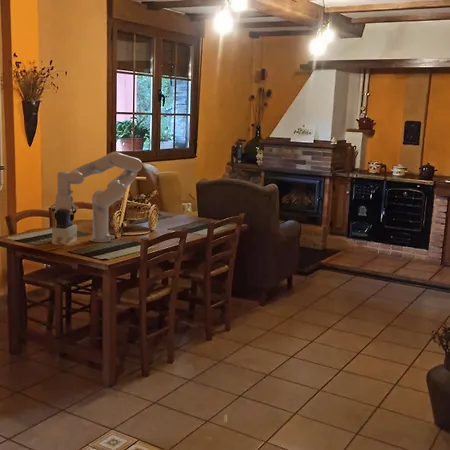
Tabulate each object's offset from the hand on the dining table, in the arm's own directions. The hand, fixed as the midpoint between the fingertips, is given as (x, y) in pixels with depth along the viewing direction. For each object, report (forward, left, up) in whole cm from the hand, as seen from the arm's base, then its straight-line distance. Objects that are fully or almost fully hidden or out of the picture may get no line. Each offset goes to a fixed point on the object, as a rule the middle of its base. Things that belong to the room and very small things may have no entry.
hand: (64, 219), depth 360 cm
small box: (0, 0, -4) cm, 4 cm away
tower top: (0, 0, -9) cm, 9 cm away
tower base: (0, 0, -14) cm, 14 cm away
